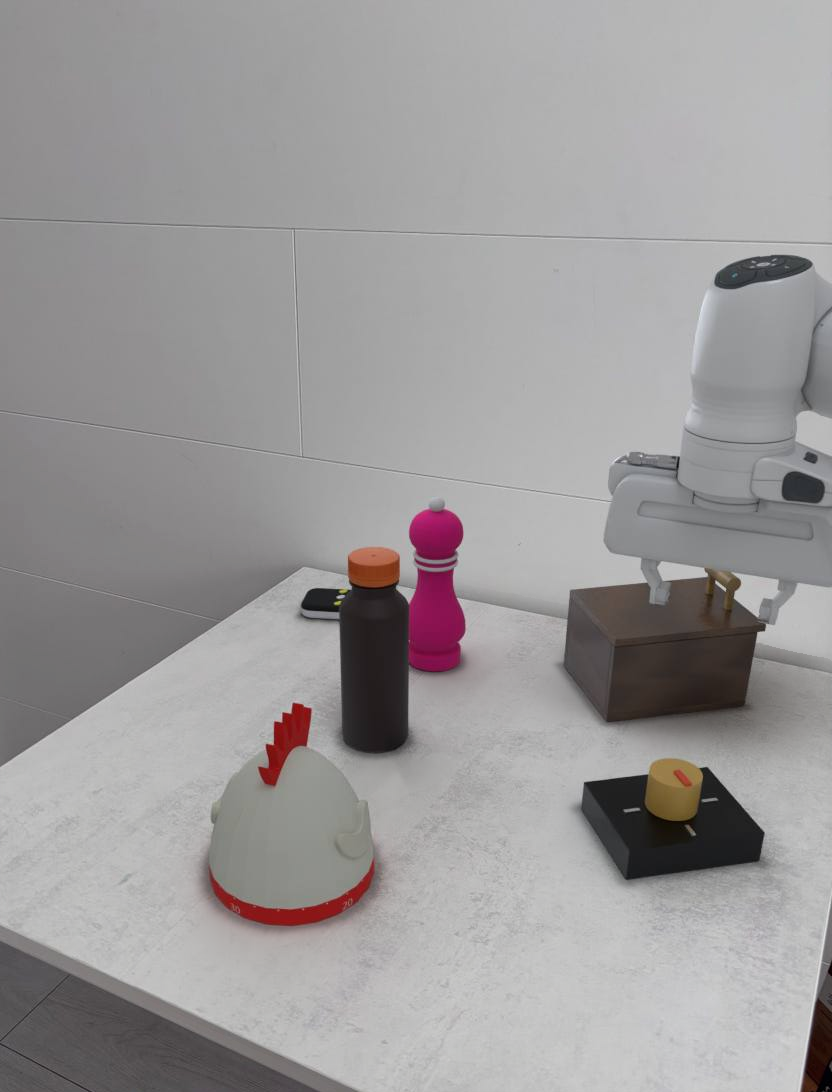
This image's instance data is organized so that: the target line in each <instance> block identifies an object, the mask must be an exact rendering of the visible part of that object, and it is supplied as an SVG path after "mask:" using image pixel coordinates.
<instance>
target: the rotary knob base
mask: <svg viewBox="0 0 832 1092" xmlns="http://www.w3.org/2000/svg"><path fill="white" fill-rule="evenodd" d="M698 768H699V769H700V770H701V772H702V774H703V780H702V786H701V792H700V798H699V804H698V810H697V813H696V815H695V816H694V817H692V818H691V819H688V820H684V821H670V820H666V819H662V818H660V817H657V816H655V815H654V814H652V813H651V812H650V811H649V810H648V809H647V807H646V805H645V797H646V789H647V782H648V775H649V773H647V774H638V775H629V776H622V777H614V778H607V779H605V778H604V779H598V780H590V781H584V782H583V785H582V786H583V787H582V797H581V805H580V806H581V807H580V809H581V811H582V812H583V814H584V816H585V817H586V819H587V820H588V822H589V824H590V825H591V826H592V828H593V830H594V831H595V833H596V835H597V836H598V838H599V839H600V841H601V842H602V844H603V846H604V848H605V849H606V850H607V852H608V853H609V856H610V857H611V858H612V860H613V862H614V863H615V864H616V866H617V868H618V869H619V871H620V873H621V874H622V875H623V877H624V879H625V880H632V879H639V878H646V877H655V876H660V875H668V874H676V873H683V872H690V871H697V870H704V869H705V870H706V869H712V868H718V867H719V868H720V867H725V866H732V865H739V864H747V863H754V862H759V861H760V859H761V853H762V849H763V844H764V839H765V834H766V833H765V831H764V829H762V828H761V827H760V825H759V824H758V823H757V822H756V821H755V820H754V819H753V817H752V816H751V815H750V813H748V811H746V809H745V808H744V807H743V806H742V805H741V803H739V801H738V800H737V799H736V797H734V796H733V794H732V793H731V792H730V791H729V790H728V789H727V787H726V786H725V785H724V784H723V783H722V782H721V781H720V780H719V778H718V777H717V776H716V774H715V773H713V771H712V770H711V769H710V768H709V767H708V766H702V767H698Z"/></svg>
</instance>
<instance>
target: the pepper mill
mask: <svg viewBox="0 0 832 1092" xmlns="http://www.w3.org/2000/svg"><path fill="white" fill-rule="evenodd" d="M445 507H446V502H445V500H444V498H442V497H441V496H437V495H436V496H433V497H431V498H430V499H429V501H428V508H427V509H423V510H422V511H420V512H418V513H417V514H415V516H414V517H413V518H412V520H411V522H410V525H409V527H408V529H409V530H408V537H409V541H410V543H411V545H412V546H413V548H414V549H415V550H414V551H413V552H412V555H413V560H412V563H413V565H414V567H416V571H417V578H416V579H417V580H416V582H417V583H416V585H415V590H414V593H413V595H412V597H411V599H410V601H409V602H408V603H409V665H411V667H413V668H415V669H418V670H421V671H425V672H443V671H448V670H451V669H454V668H455V667H457V666H458V665H459V664H460V662H461V658H462V657H461V654H462V653H461V652H462V646H461V644H460V641H461V640H462V639H463V637H464V636H465V634H466V630H467V625H466V617H465V613H464V610H463V608H462V606H461V604H460V601H459V600H458V598H457V595H456V592H455V587H454V570H455V568H457V566H458V565H459V560H458V557H459V551H457V549H458V548H459V547H460V546H461V544H462V542H463V540H464V533H465V532H464V526H463V522H462V521H461V519H460V517H459V516H458V515H457V514H456V513H454V512H453V511H451V510H449V509H446V508H445Z"/></svg>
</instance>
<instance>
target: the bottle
mask: <svg viewBox="0 0 832 1092" xmlns="http://www.w3.org/2000/svg"><path fill="white" fill-rule="evenodd" d="M400 576H401V556H400V553H398V552H397V551H396V550H394V549H392V548H388V547H383V546H365V547H360V548H357V549H355V550H353V551H351V552H350V553H349V554H348V555H347V578H348V583H349V586H351V589H350V590H351V591H350V592H349V593H348V594H347V595H346V596H345V597H344V598H343V599H342V600H341V603H340V605H339V619H338V621H339V656H340V658H339V660H340V663H339V665H340V695H341V696H340V698H341V699H340V700H341V734H342V737H343V740H344V741H345V742H346V743H347V745H348V746H350V747H352V748H354V749H356V750H358V751H361V752H365V753H384V752H389V751H392V750H395V749H396V748H399V747H400V746H401V745H403V744H404V743H405V742H406V740H407V739H408V735H409V700H410V698H409V693H410V692H409V691H410V688H409V687H410V685H409V683H410V680H409V679H410V663H409V642H410V641H409V603H410V602H409V601H408V599H407V598H406V597H405V596H404V595H403V593H402V592H400V591H399V590H398V589H397V586H398V585H399V583H400Z"/></svg>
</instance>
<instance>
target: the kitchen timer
mask: <svg viewBox="0 0 832 1092" xmlns="http://www.w3.org/2000/svg"><path fill="white" fill-rule="evenodd" d="M312 709H313V708H312V707H308V706H305V705H304V704H303V703H298V702H292V704H291V713H290V712H286V711H282V715H281V721H277V720H274V721H273V744H271V743H265V749H264V750H261V751H259V752H257V754H255V755H254V756H253V757H252V758H250V759H249V760H248V761H247V762H246V763H245V764H243V766H242V767H241V768H240V769H239V770H238V771H237V772H235V773H233V775H231V776H230V778H229V780H228V782H227V784H226V786H225V788H224V790H223V792H222V794H221V796H220V797H219V799H218V800H217V801H214V802H212V804H211V809H210V823H211V824H213V827H212V832H211V838H210V844H209V853H208V854H209V855H208V868H209V878H210V882H211V885H212V888H213V891H214V895H215V896H216V897H217V898H218V899H219V900H220V901H221V902H222V904H223V905H224V906H225V907H226V908H227V909H228V910H230V911H232V912H234V913H236V914H237V915H239V916H241V917H242V918H244V919H247V920H251V921H254V922H258V923H261V924H265V925H273V926H274V925H275V926H290V927H291V926H298V925H299V926H300V925H305V924H312V923H317V922H320V921H323V920H326V919H328V918H332V917H335V916H337V915H340V914H342V912H344V911H345V910H347V909H349V908H350V907H351V906H353V905H354V904H357V902H358V901H360V899H361V898H362V896H363V895H364V894H365V893H366V892H367V890H368V889H369V888H370V886H371V882H372V880H373V877H374V874H375V855H374V844H373V837H372V823H371V815H370V814H371V813H370V809H369V803H368V800H366V799H363V800H360V799H359V797H358V795H357V792H356V791H355V790H354V788H353V786H352V785H351V783H350V782H349V780H348V778H347V777H346V776H345V774H344V773H343V772H342V771H341V770H340V768H338V767H337V766H336V764H334V763H333V762H332V761H331V760H330V759H328V758H327V757H326V756H325V755H324V754H322V753H321V752H319V751H317V750H315V749H312V748H311V747H308V746H307V745H308V741H309V735H310V727H311V720H312V713H313V712H312V711H313V710H312Z"/></svg>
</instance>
